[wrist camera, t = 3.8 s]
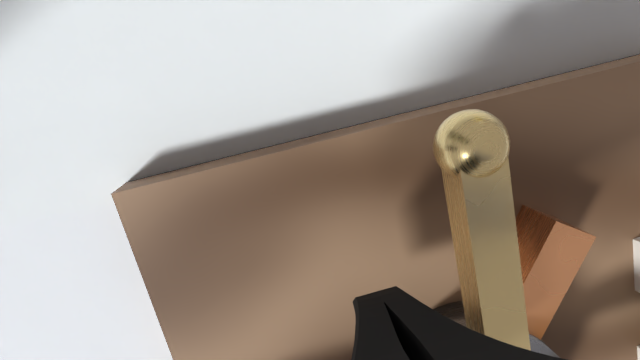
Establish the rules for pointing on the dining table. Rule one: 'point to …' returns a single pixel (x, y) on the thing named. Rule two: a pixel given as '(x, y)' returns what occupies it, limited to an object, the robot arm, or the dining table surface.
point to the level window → (637, 273)
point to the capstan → (501, 238)
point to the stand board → (388, 224)
